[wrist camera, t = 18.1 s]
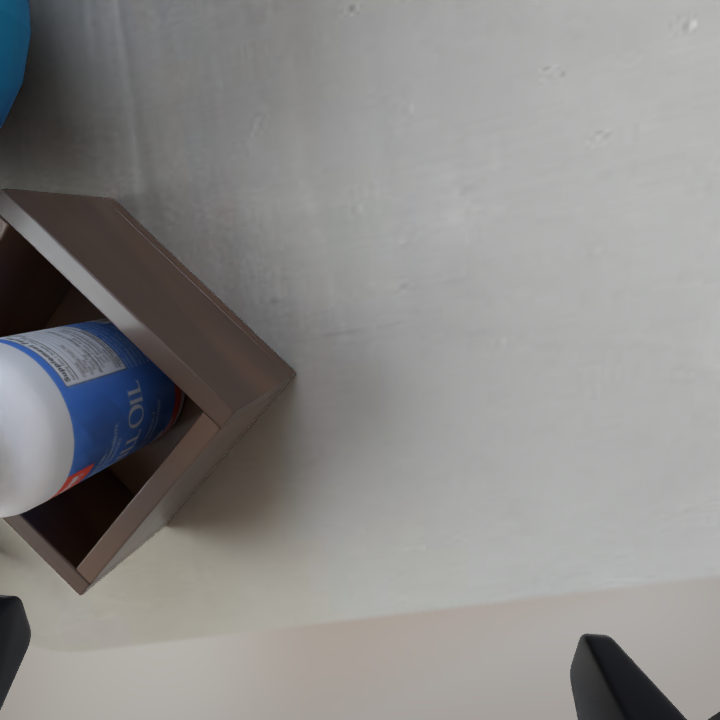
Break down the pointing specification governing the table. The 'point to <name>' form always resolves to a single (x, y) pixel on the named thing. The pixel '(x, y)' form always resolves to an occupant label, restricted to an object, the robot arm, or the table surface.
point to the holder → (155, 339)
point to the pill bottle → (74, 408)
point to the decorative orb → (12, 50)
